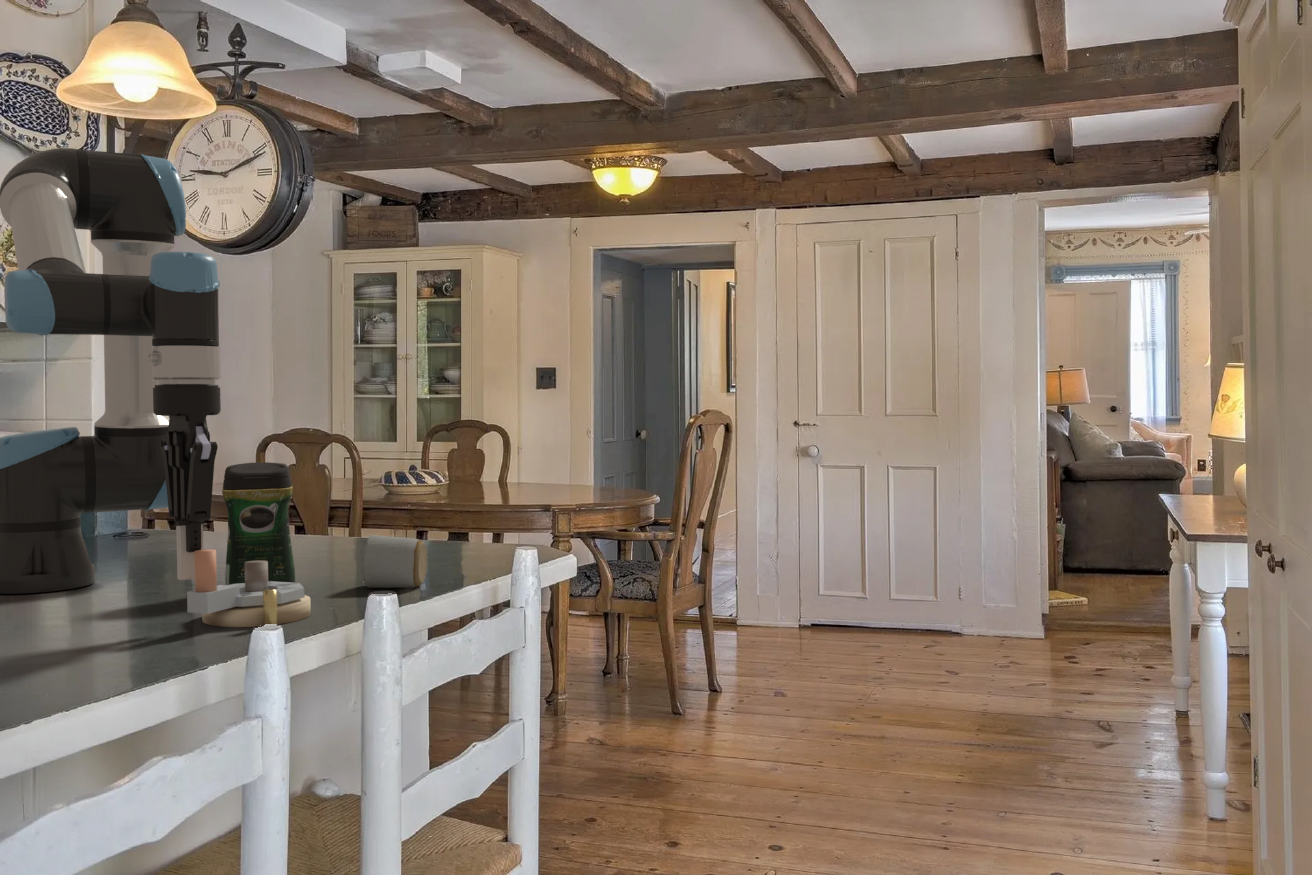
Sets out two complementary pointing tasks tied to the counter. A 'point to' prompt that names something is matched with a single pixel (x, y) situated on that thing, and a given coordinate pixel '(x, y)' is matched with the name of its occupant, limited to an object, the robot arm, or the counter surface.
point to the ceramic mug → (394, 562)
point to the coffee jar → (258, 520)
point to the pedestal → (254, 614)
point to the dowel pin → (270, 606)
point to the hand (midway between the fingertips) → (190, 578)
